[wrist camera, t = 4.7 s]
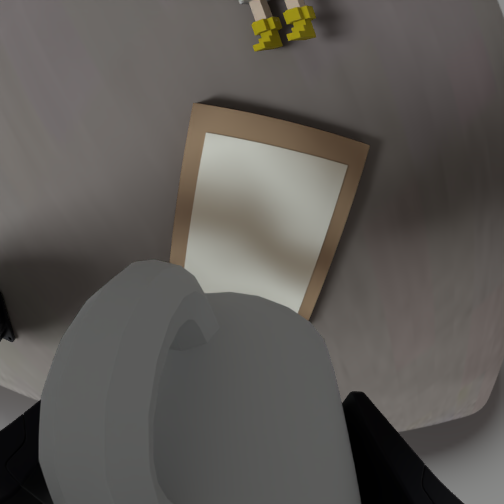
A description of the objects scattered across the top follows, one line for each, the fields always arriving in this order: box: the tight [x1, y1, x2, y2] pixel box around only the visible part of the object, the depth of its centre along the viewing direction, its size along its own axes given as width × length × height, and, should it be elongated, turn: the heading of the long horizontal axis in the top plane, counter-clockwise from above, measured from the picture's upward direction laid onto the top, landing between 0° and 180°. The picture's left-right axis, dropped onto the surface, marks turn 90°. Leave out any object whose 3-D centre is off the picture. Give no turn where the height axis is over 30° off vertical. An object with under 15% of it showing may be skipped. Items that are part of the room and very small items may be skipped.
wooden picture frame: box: [170, 103, 370, 321], centre depth 19 cm, size 14×10×1 cm
